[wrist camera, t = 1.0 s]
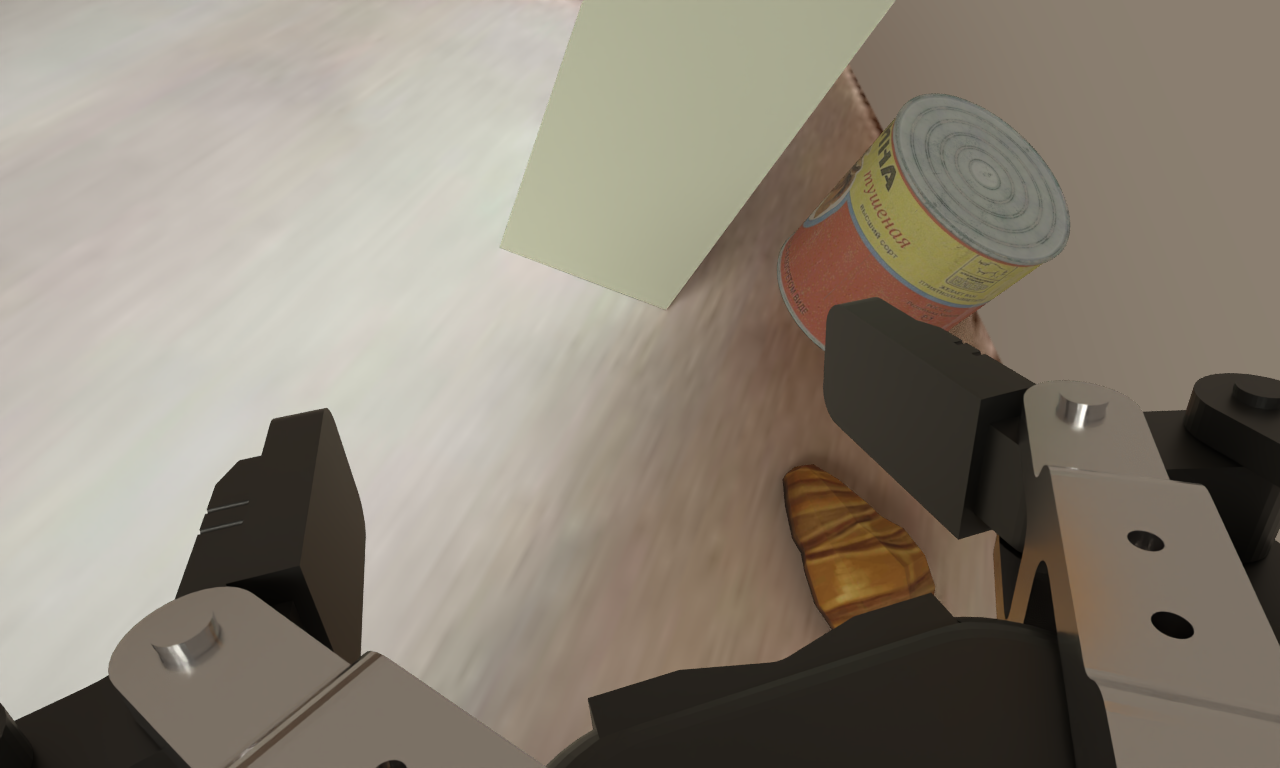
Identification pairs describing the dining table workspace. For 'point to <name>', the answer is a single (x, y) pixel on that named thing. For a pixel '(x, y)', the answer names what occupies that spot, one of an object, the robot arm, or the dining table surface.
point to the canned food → (927, 220)
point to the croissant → (850, 548)
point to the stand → (672, 130)
